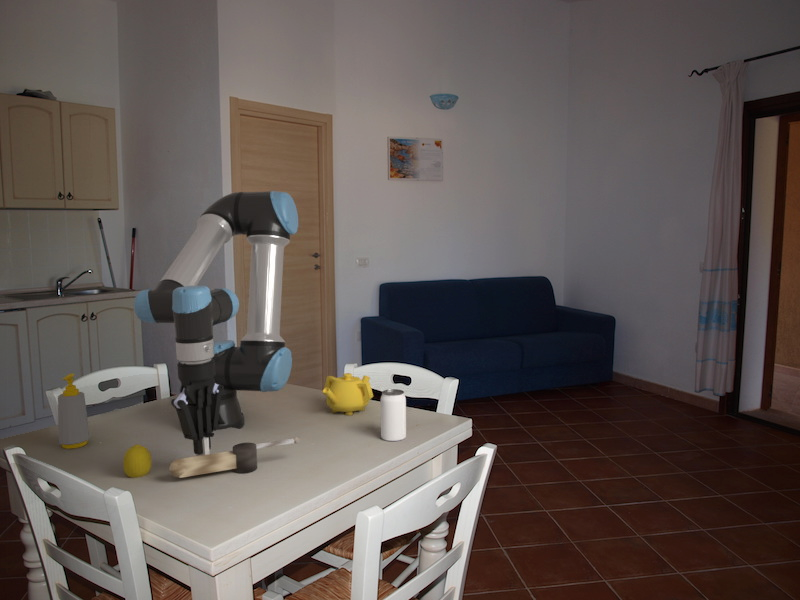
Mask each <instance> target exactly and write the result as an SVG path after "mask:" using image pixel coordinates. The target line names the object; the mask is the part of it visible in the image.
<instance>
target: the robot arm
mask: <svg viewBox="0 0 800 600" xmlns="http://www.w3.org/2000/svg"><path fill="white" fill-rule="evenodd" d="M298 215H299V213H298V209H297V206H296V203H295V201H294V199H293V197H292V196H291V195H290V193H288V192H285V191H275V190H271V191H247V192H246V191H235V192H232V193H228V194H226V195H224V196H222V197H221V198H219V199H217V200H216V201H215V202H213V203H212V204H211V205H209V207H207V208H206V209H205V210H204V211H203V213H202V214H201V215H200V217H199V218H198V219H197V222H196V228H195V231H194V232H193V234H191V236H190V237H189V239H188V240H187V242H186V244H184V245H183V247H182V249H181V250H180V252H179V254H177V257H176V258H175V259H174V261H173V262H172V263H171V265H170V266H169V267H168V269H167V271H166V272H165V273H164V275H163V276H162V278H161V279H160V281H159V282H158V284H156V286H155V288H153V289H152V288H149V289H143V290H140V291H139V292H138V293H137V294H136V295H135V297H134V302H133V309H134V310H133V311H134V314H135V315H136V317H137V319H139V321H141V322H144V323H152V324H173V325H174V332H175V333H174V334H175V354H176V360H177V361H178V363H177V364H176V365H177V366H176V367H177V368H176V369H177V378H178V379H179V381H180V383H181V384H180V385H181V386H180V388H179V395H178V396H177V398H173V399H171V401H170V403H171V405H172V406H173V408H174V409H175V411H176V414H177V418H178V420H179V424H180V427H181V430H182V434H183V437H184V439H185V440H186V439H187V440H191V441H192V446H193V453H194V454H195V456H201V455H208V454H211V453H210V451H211V449H212V448H211V447H212V444H211V442H212V441H211V438H213V437H214V436H215V433H214V432H215V431H218V430H219V431H221V430H225V429H230V428H231V429H232V428H233V429H241V428H242V427H244V425H245V414H244V412H242V407H241V404H240V401H239V399H238V394H237V393H238V392H237V391H240V392H241V391H244V392H245V391H246V392H262V393H267V392H278V391H281V390H282V389H283V388H284V387H285V386H286V385H287V382H288V381H289V377H290V375H291V371H292V365H293V357H292V351H291V350H290V348H288V347H286V340H284V339H283V337H282V336H281V332H280V331H281V315H282V314H281V313H282V293H283V292H282V291H283V275H284V274H283V272H284V271H283V270H284V255H285V253H284V250H285V247H286V246H287V245H289V244H290V242H291V236H293V235H296V233H297V232H298V229H299V216H298ZM239 235H241V236H242V235H245V236H246V241H247V242H248V243H249V244H250V245H251V250H250V251H251V252H250V255H251V256H250V270H249V288H248V289H249V291H248V307H247V308H248V309H247V323H246V325H247V326H246V334H245V335H244V336H243V337H242V338H240V343H239V345H240V346H236V343H235V341H234V340H231V339H226V340H225V339H224V340H218V341H214V332H213V331H214V329H213V328H214V326H215V325H219V324H222V323H225V322H228V321H229V320H231V319H232V318H233V317H235V316H236V315H237V314H238V312H239V309H240V308H239V307H240V302H239V301H240V300H239V298H238V296H237V295H236V293H235V292H233V291H232V290H231V289H229V288H225V287H224V288H214V289H211V290H210V288H209V287H208V286H206V285H198V284H199V282H200V281H201V280H202V277H203V276H204V274H205V273H206V271H207V270H208V268H209V267H210V265H211V263H212V261H213V260H214V259H215V257H216V255H217V254H218V253H219V250H220V249H221V248H222V246H223V245H225V244H227V243H228V242H230V240H232V237H234V236H239Z"/></svg>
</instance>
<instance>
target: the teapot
mask: <svg viewBox="0 0 800 600" xmlns="http://www.w3.org/2000/svg"><path fill="white" fill-rule="evenodd" d="M370 379H371V378H370V376H368V375H363V376H362V378H360V377H358V376H353V374H352V373H351V372H350V373H349V372H344V373H343V374H342V376H339V377H336V376H333V375H328V376H326V379H325V383H324V388H323V389H322V393H323V394H324V396H325V397H326V401H325V402H326V404H327V406H328V407H329V408H330V409H331V413H333V414H334V413H340V412H343V413H344V412H345V416H347V417H351V416H353V415H354V412H357V411H358V412H363V411H365V410H366V409H365V408H366V407H367V406H368V404H369V402H370V401H371V399H372V398H373V397H374V393H373V390H372V385H371V383H370Z"/></svg>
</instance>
